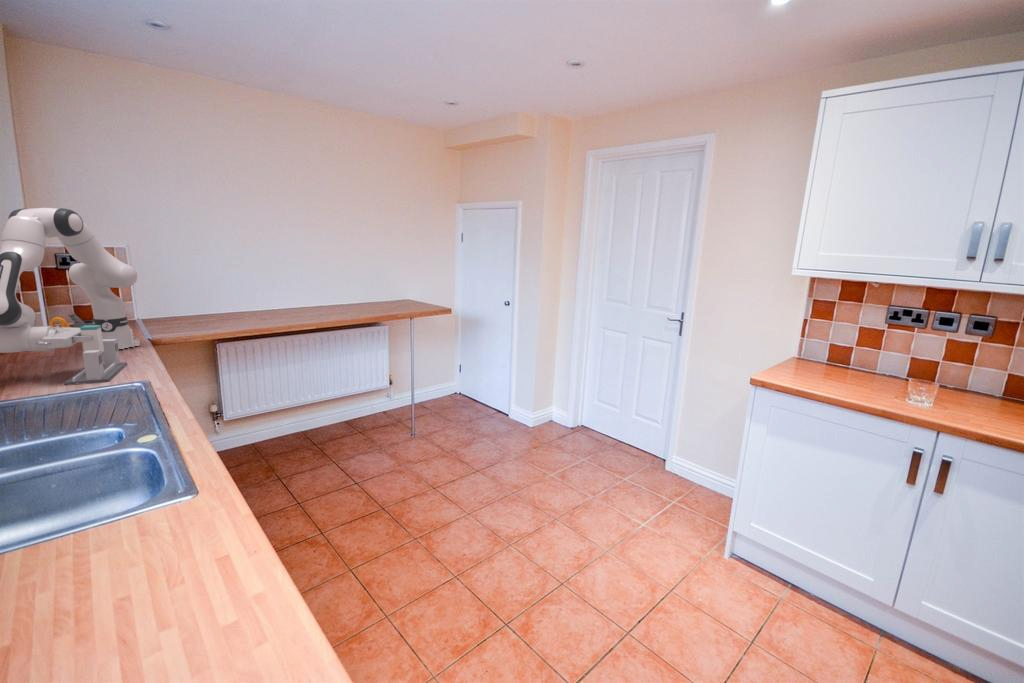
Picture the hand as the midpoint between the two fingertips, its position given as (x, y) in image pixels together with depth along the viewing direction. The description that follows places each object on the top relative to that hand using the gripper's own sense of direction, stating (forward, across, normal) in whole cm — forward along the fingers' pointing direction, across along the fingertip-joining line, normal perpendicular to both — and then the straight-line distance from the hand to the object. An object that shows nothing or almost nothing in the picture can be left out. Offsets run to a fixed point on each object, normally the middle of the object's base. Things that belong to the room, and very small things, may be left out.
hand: (95, 336), depth 172 cm
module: (-1, 0, +6) cm, 6 cm away
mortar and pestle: (-26, +82, +14) cm, 87 cm away
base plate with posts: (-1, 0, +14) cm, 15 cm away
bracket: (-31, +65, +14) cm, 74 cm away
